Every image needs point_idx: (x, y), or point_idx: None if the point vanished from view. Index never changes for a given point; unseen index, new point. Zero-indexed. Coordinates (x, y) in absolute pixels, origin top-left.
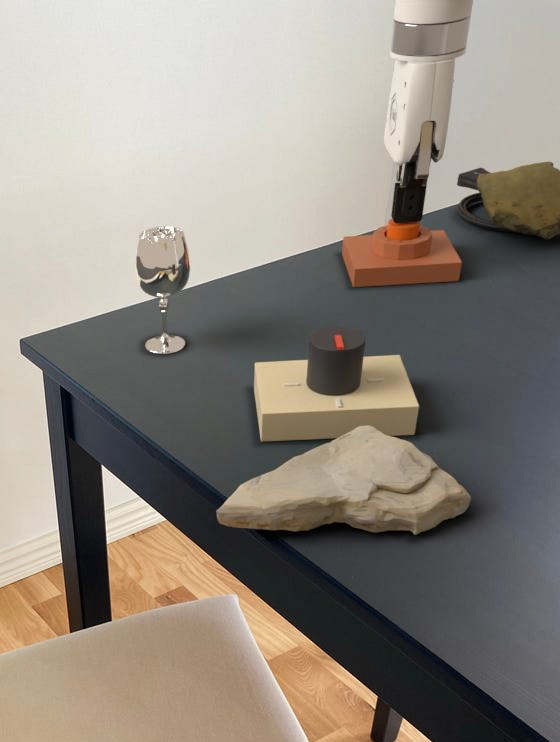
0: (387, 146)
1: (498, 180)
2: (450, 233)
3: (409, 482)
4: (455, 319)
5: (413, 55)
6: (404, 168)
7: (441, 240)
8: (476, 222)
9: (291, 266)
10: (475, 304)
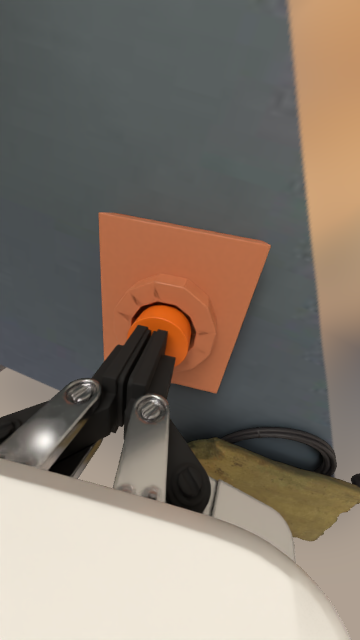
0: (104, 536)
1: (304, 497)
2: (256, 401)
3: None
4: (17, 307)
5: None
6: (10, 437)
7: (180, 376)
8: (252, 430)
9: (257, 94)
10: (55, 340)
